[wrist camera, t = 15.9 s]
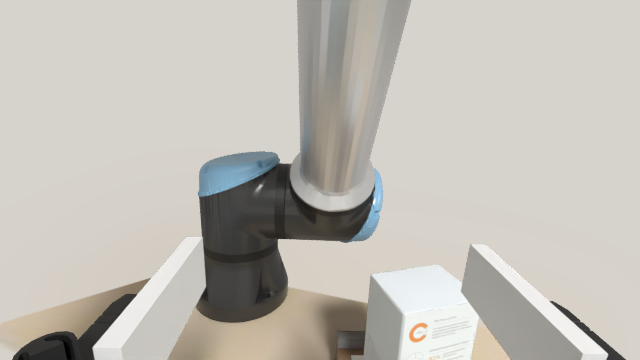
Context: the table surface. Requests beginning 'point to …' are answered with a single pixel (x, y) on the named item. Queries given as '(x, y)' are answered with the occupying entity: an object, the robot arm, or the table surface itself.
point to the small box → (418, 316)
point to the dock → (350, 345)
